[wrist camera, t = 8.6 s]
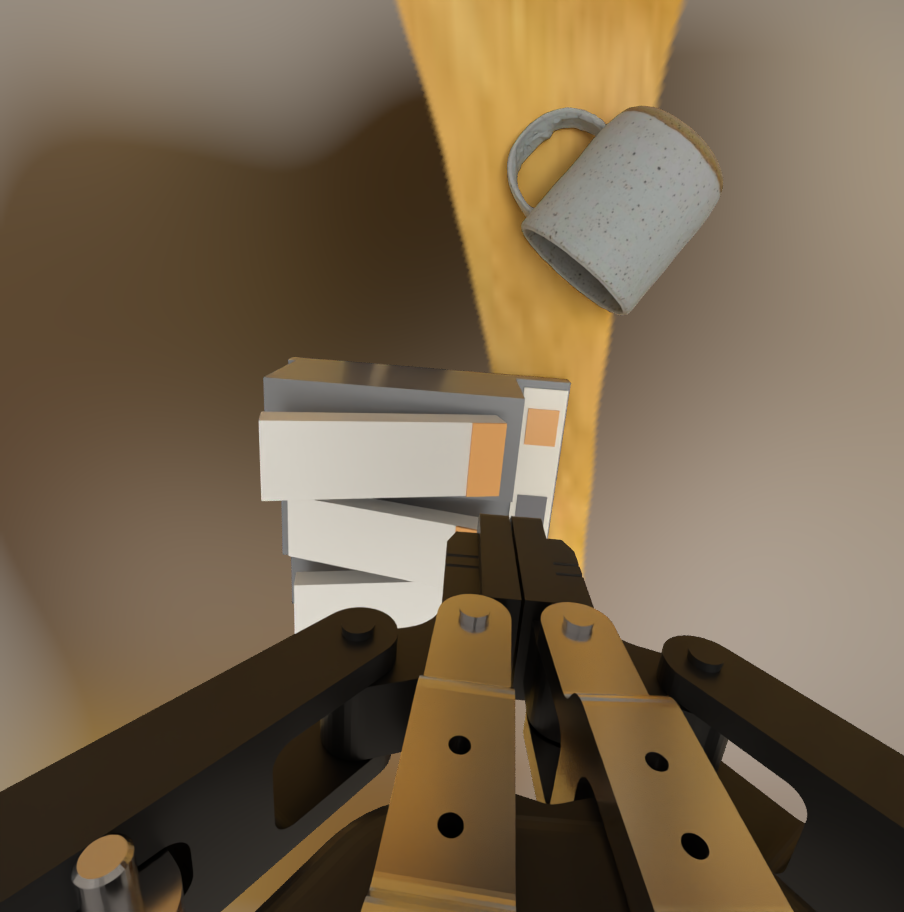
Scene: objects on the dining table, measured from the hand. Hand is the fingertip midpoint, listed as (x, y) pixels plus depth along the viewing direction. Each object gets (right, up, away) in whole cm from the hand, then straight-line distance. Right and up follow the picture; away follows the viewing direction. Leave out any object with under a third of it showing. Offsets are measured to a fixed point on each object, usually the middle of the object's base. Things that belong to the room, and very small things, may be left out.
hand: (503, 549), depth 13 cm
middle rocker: (-5, -3, +19) cm, 20 cm away
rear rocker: (-5, -7, +23) cm, 25 cm away
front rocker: (-5, +2, +15) cm, 16 cm away
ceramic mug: (+7, +17, +20) cm, 27 cm away
